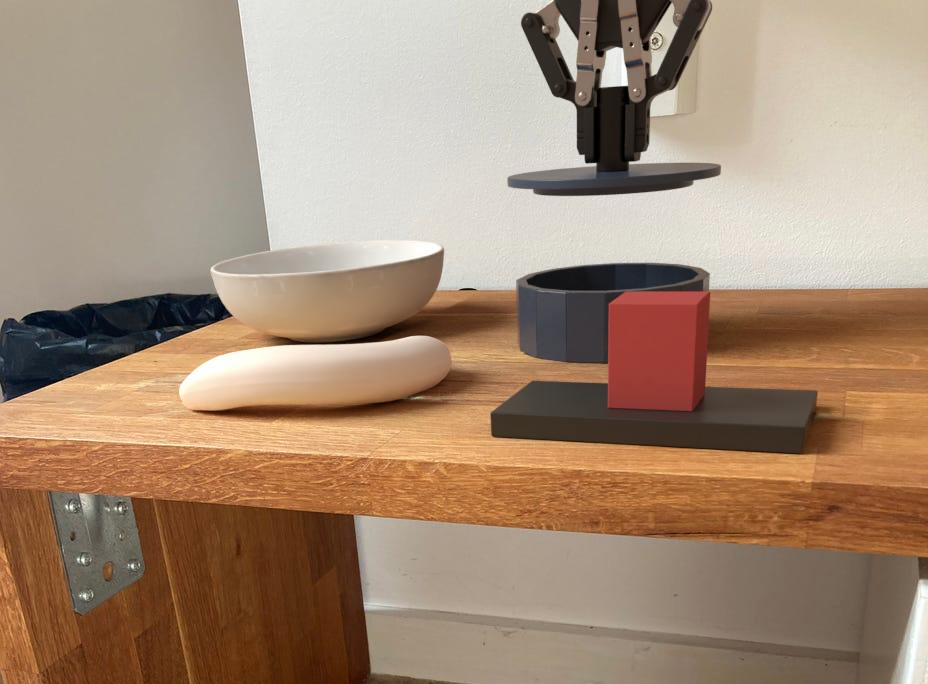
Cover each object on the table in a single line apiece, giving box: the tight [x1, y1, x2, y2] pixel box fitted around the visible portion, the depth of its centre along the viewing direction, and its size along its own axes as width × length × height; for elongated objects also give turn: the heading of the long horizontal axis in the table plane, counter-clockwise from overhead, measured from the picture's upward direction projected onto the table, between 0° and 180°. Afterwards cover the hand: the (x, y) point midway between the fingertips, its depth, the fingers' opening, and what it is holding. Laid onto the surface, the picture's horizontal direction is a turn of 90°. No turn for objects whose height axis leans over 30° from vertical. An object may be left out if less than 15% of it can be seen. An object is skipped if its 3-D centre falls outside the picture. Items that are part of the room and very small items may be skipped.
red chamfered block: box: [607, 291, 711, 412], centre depth 60 cm, size 5×4×6 cm
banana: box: [178, 335, 453, 411], centre depth 73 cm, size 5×19×15 cm
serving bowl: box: [210, 239, 445, 344], centre depth 93 cm, size 21×21×7 cm
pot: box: [515, 262, 711, 365], centre depth 81 cm, size 15×15×6 cm
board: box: [490, 380, 819, 455], centre depth 62 cm, size 18×8×2 cm, turn 68°
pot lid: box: [507, 85, 722, 197], centre depth 75 cm, size 16×16×7 cm
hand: (613, 160), depth 76 cm, fingers closed on pot lid, 2 cm apart
